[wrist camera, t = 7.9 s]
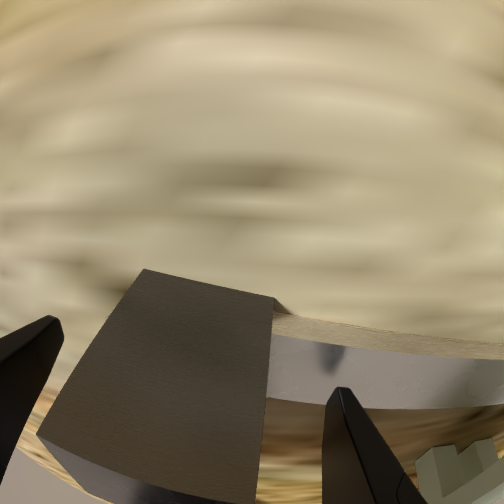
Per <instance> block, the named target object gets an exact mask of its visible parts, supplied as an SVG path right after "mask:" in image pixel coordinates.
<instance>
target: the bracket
mask: <svg viewBox="0 0 504 504" xmlns="http://www.w3.org/2000/svg"><path fill="white" fill-rule="evenodd" d="M415 467H416V473H417V478H418V484H419V490H420V494H421V495H422V496H423V498H424V499H425V500H426V502H427V503H428V504H493V503H495V502H496V501H498V500H499V499H501V498H503V497H504V456H503V457H502V458H500V459H499V458H498V455H497V452H496V449H495V446H494V443H493V440H492V438H489V439H484V440H479V441H474V442H473V443H472V444H471V445H470V446H469V447H467V448H466V449H465V450H464V451H463V452H461V453H460V454H459V455H457V451H456V448H455V445H448V446H441V447H432V448H431V449H430V450H428V451H427V452H426V453H425V454H424V455H422V456H421V457H420V458H419V459H417V460H416V461H415Z"/></svg>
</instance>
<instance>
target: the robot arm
mask: <svg viewBox="0 0 504 504" xmlns="http://www.w3.org/2000/svg"><path fill="white" fill-rule="evenodd" d="M63 342H64V334H63V330H62V326H61V323H60V320H59V319H58V318H56V317H54V316H51V315H47V316H45V317H43V318H41V319H39V320H37V321H35V322H32V323H30V324H28V325H26V326H24V327H22V328H20V329H18V330H16V331H14V332H12V333H10V334H8V335H6V336H4V337H2V338H0V484H1V482H2V479H3V476H4V474H5V471H6V469H7V466H8V463H9V461H10V458H11V456H12V453H13V451H14V449H15V446H16V444H17V442H18V439H19V437H20V435H21V433H22V430H23V428H24V426H25V424H26V422H27V420H28V417H29V415H30V413H31V411H32V409H33V407H34V405H35V403H36V401H37V399H38V397H39V395H40V393H41V391H42V389H43V387H44V385H45V383H46V381H47V379H48V377H49V375H50V373H51V370H52V368H53V366H54V363H55V361H56V358H57V356H58V354H59V351H60V349H61V347H62V344H63ZM322 504H428V503H427V502H426V500H425V499H424V498H423V496H422V495H421V494H420V493H419V491H418V490H417V488H416V487H415V486H414V484H413V483H412V481H411V480H410V478H409V477H408V475H407V474H406V473H405V472H404V469H403V468H402V466H401V465H400V463H399V462H398V460H397V459H396V457H395V456H394V454H393V452H392V451H391V449H390V448H389V446H388V445H387V443H386V442H385V440H384V439H383V437H382V436H381V434H380V433H379V431H378V430H377V428H376V427H375V425H374V424H373V422H372V421H371V419H370V418H369V416H368V414H367V413H366V411H365V410H364V408H363V407H362V405H361V404H360V402H359V401H358V399H357V398H356V396H355V395H354V393H353V392H352V390H351V389H350V388H348V387H340V386H338V387H336V388H335V389H334V391H333V393H332V394H331V396H330V398H329V399H328V401H327V403H326V408H325V420H324V431H323V441H322Z"/></svg>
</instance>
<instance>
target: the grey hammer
mask: <svg viewBox="0 0 504 504" xmlns="http://www.w3.org/2000/svg"><path fill="white" fill-rule="evenodd" d="M273 308H274V298H273V297H268V296H263V295H259V294H254V293H249V292H244V291H239V290H235V289H230V288H225V287H221V286H216V285H212V284H207V283H203V282H198V281H194V280H189V279H185V278H181V277H176V276H172V275H168V274H164V273H159V272H155V271H151V270H147V269H143V270H142V272H141V273H140V274H139V276H138V277H137V278H136V280H135V281H134V282H133V284H132V285H131V287H130V288H129V289H128V291H127V292H126V293H125V295H124V296H123V298H122V299H121V300H120V302H119V303H118V305H117V306H116V307H115V309H114V310H113V312H112V313H111V315H110V316H109V317H108V319H107V320H106V322H105V323H104V325H103V326H102V328H101V329H100V331H99V332H98V334H97V335H96V337H95V338H94V340H93V341H92V343H91V344H90V346H89V347H88V349H87V350H86V352H85V353H84V355H83V356H82V358H81V359H80V361H79V362H78V364H77V366H76V367H75V369H74V370H73V372H72V373H71V375H70V377H69V378H68V380H67V382H66V383H65V385H64V386H63V388H62V390H61V391H60V393H59V395H58V396H57V398H56V400H55V401H54V403H53V405H52V406H51V408H50V410H49V412H48V413H47V415H46V417H45V419H44V420H43V422H42V424H41V426H40V427H39V429H38V431H37V433H36V435H37V437H38V438H39V439H40V441H41V442H42V443H43V444H44V446H45V447H46V448H47V449H48V450H49V452H50V453H51V454H52V455H53V456H54V457H55V459H56V460H57V461H58V462H59V463H60V464H61V465H62V467H63V468H64V469H65V470H66V471H67V472H68V473H69V474H70V475H71V476H72V477H73V478H74V479H75V480H76V481H77V483H78V484H79V485H80V486H81V487H82V488H83V489H84V490H85V491H87V492H88V493H90V494H92V495H94V496H97V497H99V498H101V499H104V500H106V501H109V502H111V503H114V504H255V497H256V488H257V480H258V471H259V462H260V452H261V443H262V433H263V423H264V413H265V403H266V397H269V398H276V399H282V400H289V401H296V402H304V403H313V404H322V405H326V403H327V401H328V399H329V398H330V396H331V394H332V393H333V391H334V389H335V388H336V387H338V386H340V387H348V388H350V389H351V390H352V392H353V393H354V395H355V396H356V398H357V399H358V401H359V402H360V404H361V405H362V407H363V408H376V409H447V408H465V407H477V406H488V405H497V404H504V344H496V343H485V342H475V341H465V340H455V339H446V338H438V337H430V336H422V335H414V334H406V333H399V332H392V331H385V330H378V329H372V328H365V327H359V326H353V325H346V324H340V323H334V322H329V321H323V320H317V319H312V318H306V317H301V316H295V315H290V314H285V313H279V312H274V311H273Z"/></svg>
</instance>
